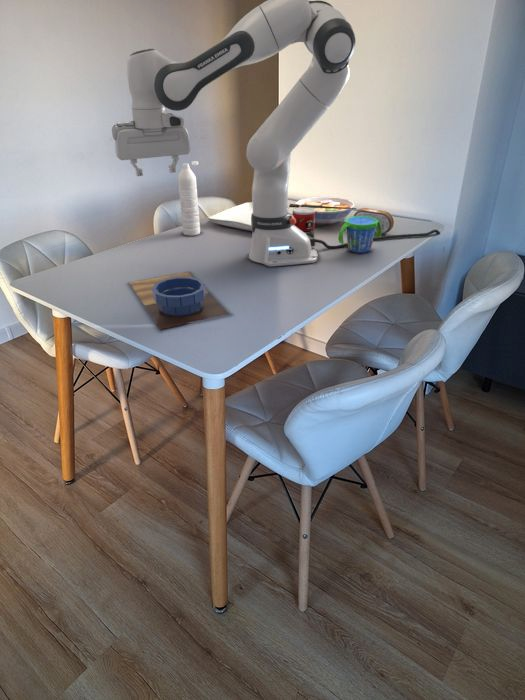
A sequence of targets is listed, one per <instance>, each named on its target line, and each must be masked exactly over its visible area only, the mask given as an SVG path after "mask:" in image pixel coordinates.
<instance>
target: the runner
mask: <svg viewBox="0 0 525 700" xmlns="http://www.w3.org/2000/svg"><path fill="white" fill-rule="evenodd" d="M174 277H192V278H194V276H193V275H192V274H191V273H189V272H188V271H185V272H178V273H173V274H168V275H162V276H157V277H151V278H145V279H140V280H135V281H129V282H128V283H129V285H130V286H131V288H132V290H133V291H134V293H136V295H137V297H138V298H139V300H140V301H141V303H142V304H143V306H145V305H150V304H155V303H156V302H155V300H154V299H153V293H152V288H153V286H154V285H155V284H156V283H158V282H160V281H162V280H164V279H169V278H174ZM173 289H174V288H173ZM192 289H193V288H192ZM168 290H169V289H168ZM166 291H167V290H166ZM206 293H209V292H208V290H206Z"/></svg>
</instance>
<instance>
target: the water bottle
mask: <svg viewBox="0 0 525 700" xmlns="http://www.w3.org/2000/svg"><path fill="white" fill-rule="evenodd" d="M191 165H192V166H198V165H199V160H193V161H191ZM181 167H182V168H181V170H180V172H179V174H178V176H177V184H178V192H179V193H178V194H179V206H180V215H181V216H180V218H181V225H182V234H183V235H184V236H188V237H192V236H193V237H195V236H198V235H200V234H201V222H200V212H199V198H198V189H197V188H198V187H197V177H196V174H195V173H194V172H193V170H192V169H191V166H190V163H189V162H188V163H187V162H184V163H182V166H181Z"/></svg>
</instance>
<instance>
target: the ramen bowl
mask: <svg viewBox="0 0 525 700" xmlns="http://www.w3.org/2000/svg"><path fill="white" fill-rule="evenodd" d="M355 206H356V205H355V203H354V201H352V200H350V199H346V198H341V197H335V196H313V197H306V198H302V199H299V200H298V201H296V202H295V203H290V204H288V208H297V207H310V208H313V209H314V210H315V223H314V224H315V225H319V226H329V225H330V226H331V225H333V224H335V223H338V222H340V221H342V220H344V219H346V217H347V216H348V215H350V213H351V212H352V211H353V210H357V207H355Z"/></svg>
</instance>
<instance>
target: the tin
mask: <svg viewBox="0 0 525 700" xmlns="http://www.w3.org/2000/svg"><path fill="white" fill-rule="evenodd" d="M353 216H368V217H373V218H375V219H377V220H378V221H379V222H380V223H381V228H382V234H381V236H384V235H386V234H387V233H389V232H391V231H392V229H393V227H394V224H395V221H394V217H393V215H392V214H391V213H390V212H389V211H386V210H381V209H375V208H369V207H362V208H359V209H358V210H356V212H355V213H354V214H353ZM376 232H377V227H376V228H375V233H374V235H376Z"/></svg>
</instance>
